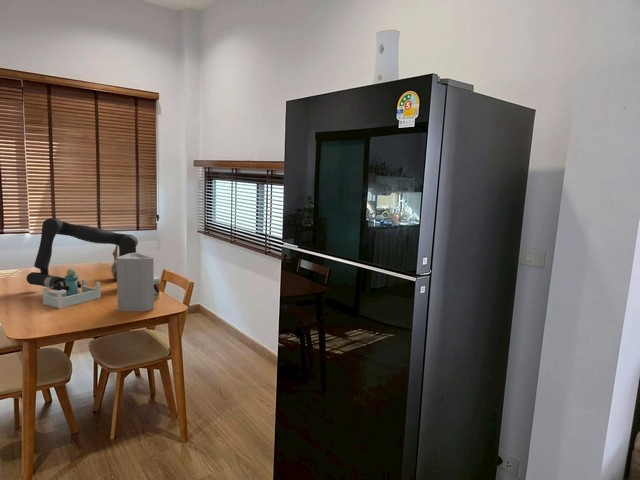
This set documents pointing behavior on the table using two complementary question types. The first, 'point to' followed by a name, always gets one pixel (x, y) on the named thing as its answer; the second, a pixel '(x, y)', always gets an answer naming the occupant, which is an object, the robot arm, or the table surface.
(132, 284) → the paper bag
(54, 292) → the stone tile
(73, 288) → the teal peg with ball
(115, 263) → the ceramic vessel
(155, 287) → the coffee cup
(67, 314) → the table surface
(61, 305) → the rectangular frame with posts
